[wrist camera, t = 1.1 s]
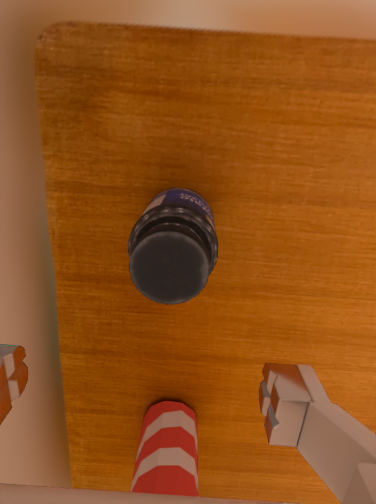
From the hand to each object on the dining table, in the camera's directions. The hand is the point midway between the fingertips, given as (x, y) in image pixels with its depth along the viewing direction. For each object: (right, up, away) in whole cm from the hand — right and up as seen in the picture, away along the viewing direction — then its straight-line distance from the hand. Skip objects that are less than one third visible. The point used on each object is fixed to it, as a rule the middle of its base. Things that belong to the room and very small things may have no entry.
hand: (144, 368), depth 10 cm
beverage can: (-1, -16, +26) cm, 31 cm away
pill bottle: (+1, +7, +17) cm, 19 cm away
